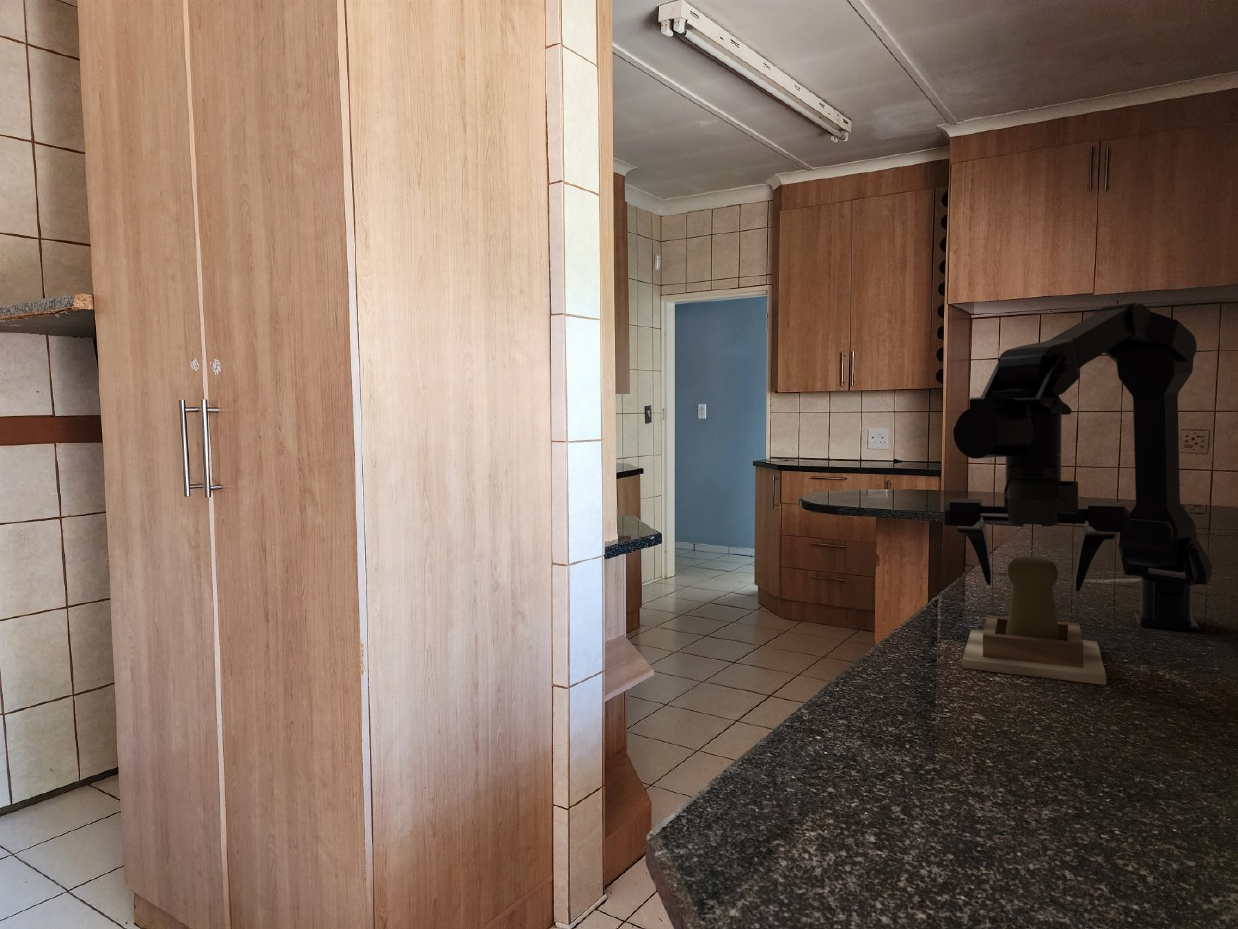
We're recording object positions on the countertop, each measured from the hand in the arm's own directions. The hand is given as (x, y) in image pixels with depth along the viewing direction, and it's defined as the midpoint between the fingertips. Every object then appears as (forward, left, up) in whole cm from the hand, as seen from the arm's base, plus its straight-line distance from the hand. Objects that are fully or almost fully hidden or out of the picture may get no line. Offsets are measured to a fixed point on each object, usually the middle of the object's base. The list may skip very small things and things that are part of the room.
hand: (1032, 587), depth 92 cm
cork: (0, 0, -8) cm, 8 cm away
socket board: (0, 0, -8) cm, 8 cm away
